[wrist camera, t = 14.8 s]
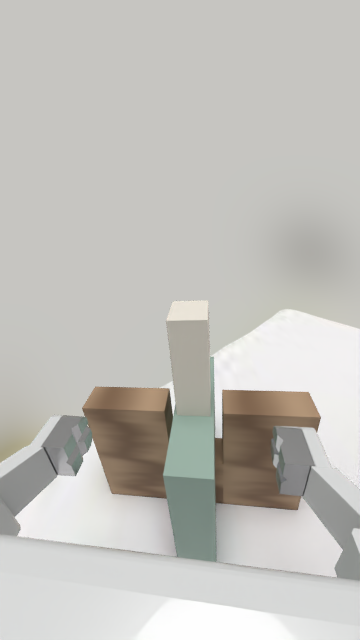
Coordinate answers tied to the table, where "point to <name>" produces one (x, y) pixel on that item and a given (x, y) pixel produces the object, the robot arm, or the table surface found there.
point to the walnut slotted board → (230, 451)
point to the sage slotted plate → (192, 433)
